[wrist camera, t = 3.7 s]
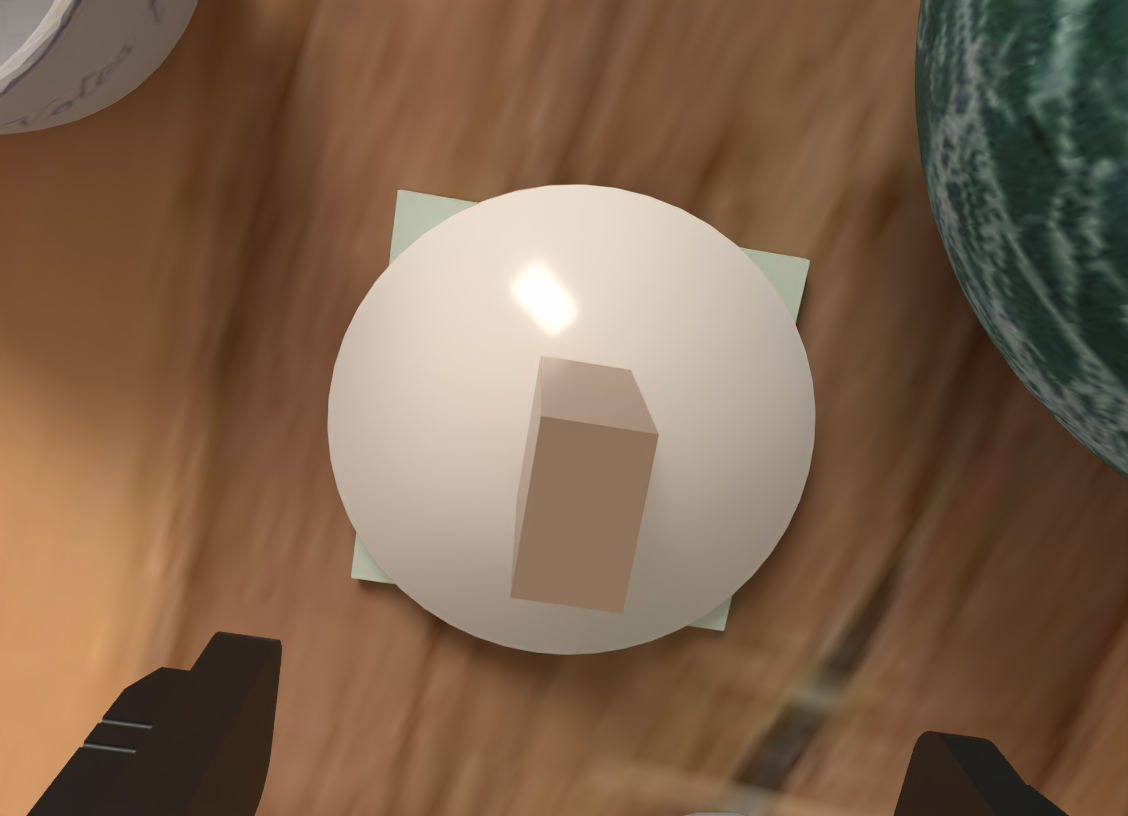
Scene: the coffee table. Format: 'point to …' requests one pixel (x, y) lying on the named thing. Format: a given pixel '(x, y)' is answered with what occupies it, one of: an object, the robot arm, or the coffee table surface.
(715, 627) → the mat
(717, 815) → the soda can
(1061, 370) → the decorative sphere
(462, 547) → the lid
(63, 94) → the teacup
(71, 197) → the coffee table surface
